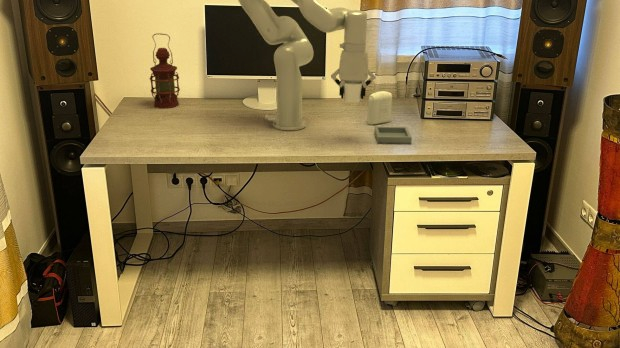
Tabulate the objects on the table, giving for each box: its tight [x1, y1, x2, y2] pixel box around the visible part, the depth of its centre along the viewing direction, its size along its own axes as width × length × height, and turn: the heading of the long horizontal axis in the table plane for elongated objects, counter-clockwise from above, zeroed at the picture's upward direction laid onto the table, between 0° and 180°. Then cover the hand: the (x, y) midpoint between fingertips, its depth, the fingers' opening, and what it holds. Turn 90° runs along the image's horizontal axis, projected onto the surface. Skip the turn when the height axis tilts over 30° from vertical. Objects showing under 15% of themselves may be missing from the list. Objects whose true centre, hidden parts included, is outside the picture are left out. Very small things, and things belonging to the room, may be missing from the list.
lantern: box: [149, 33, 181, 109], centre depth 264 cm, size 12×12×30 cm
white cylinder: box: [343, 81, 362, 104], centre depth 226 cm, size 7×7×7 cm
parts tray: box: [374, 126, 413, 145], centre depth 232 cm, size 12×12×2 cm
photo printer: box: [366, 90, 393, 126], centre depth 248 cm, size 10×4×12 cm, turn 123°
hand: (352, 97), depth 226 cm, fingers closed on white cylinder, 6 cm apart
